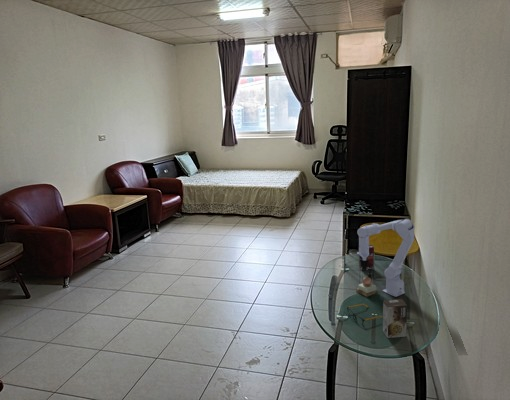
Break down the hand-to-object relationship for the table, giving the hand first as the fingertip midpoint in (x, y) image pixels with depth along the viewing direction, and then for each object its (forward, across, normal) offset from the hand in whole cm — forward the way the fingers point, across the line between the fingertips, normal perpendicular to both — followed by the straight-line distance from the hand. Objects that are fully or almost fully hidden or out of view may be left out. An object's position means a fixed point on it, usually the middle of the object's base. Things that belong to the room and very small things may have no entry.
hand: (363, 267), depth 230 cm
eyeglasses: (+11, +39, -1) cm, 41 cm away
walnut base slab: (+11, +12, +1) cm, 16 cm away
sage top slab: (+8, +12, +1) cm, 15 cm away
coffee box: (+11, +54, +11) cm, 56 cm away
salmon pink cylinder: (+6, +12, +1) cm, 13 cm away
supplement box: (+11, -23, +3) cm, 25 cm away
